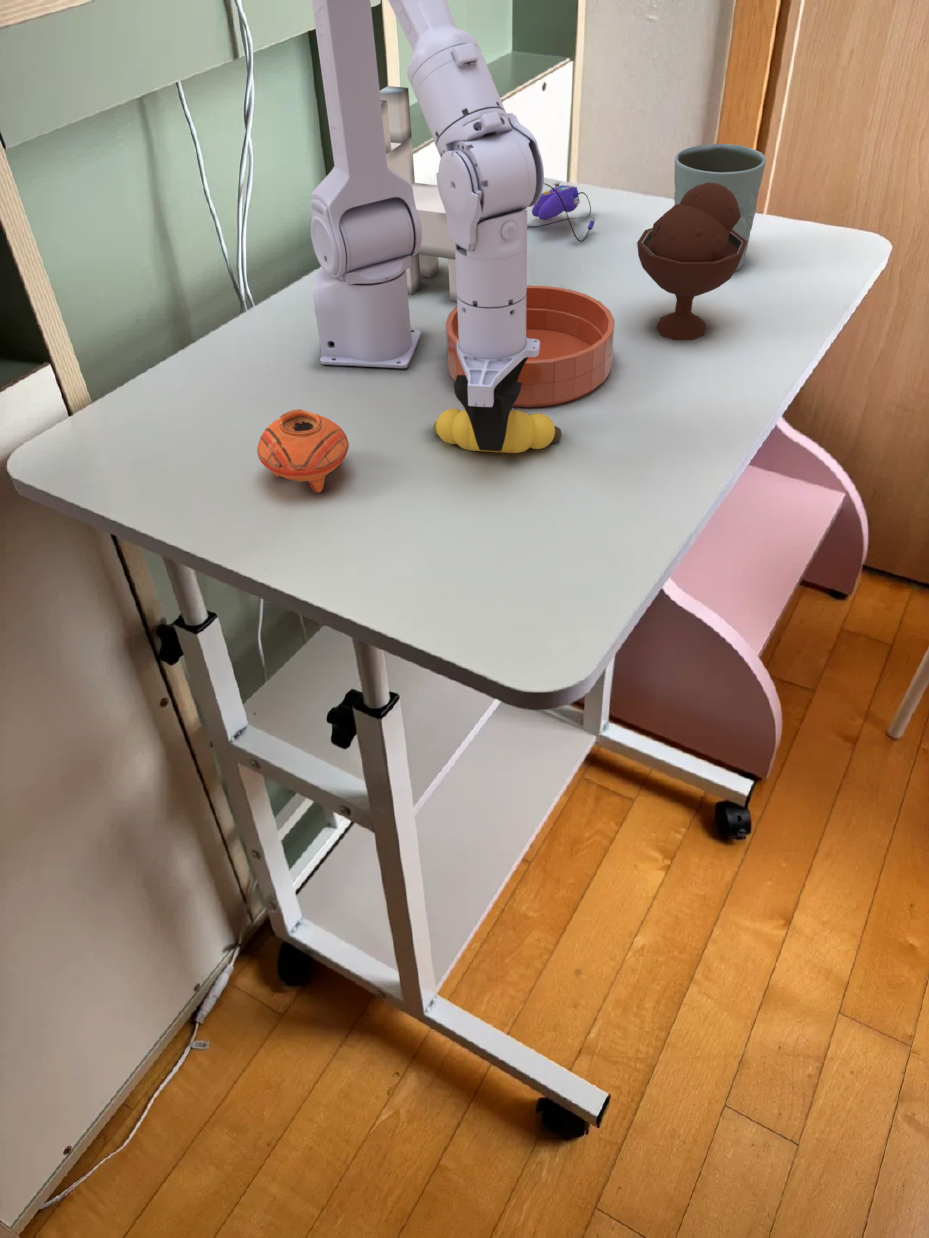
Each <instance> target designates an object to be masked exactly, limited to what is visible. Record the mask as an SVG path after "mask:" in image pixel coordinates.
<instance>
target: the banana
mask: <svg viewBox="0 0 929 1238" xmlns="http://www.w3.org/2000/svg"><path fill="white" fill-rule="evenodd" d="M432 431H433V432H434V433H435V435H437V436H438V437H439V438H440V439H441V440H442V441H443V442H445V443H446V444H451V445H458V446H459V447H460V448H462V449H464V450H466V451H472V452H473V451H474V452H488V453H489V452H490V453H491V452H492V453H503V454H504V453H506V454H520V453H523V452H526V451H527V450H529V449H533V450H540V449H544V448H546V447H548V446H549V445H550V444H552V443H557V442H559V441H560V440H561V439H562V430H561V428H560V427H558V426H557V425H555V424H554V422H553V420H552V419H551V418H550V417H549V416H548V415H545V414H543V413H537V412H536V413H532V414H528V413H527V412H524V411H522V410H514V409H512V410H511V411H510V413H509V417H508V424H507V430H506V436H505V440H504V444H503V447H502V450H501V451H487V450H479V448H478V445H477V442H476V439H475V436H474V432H473V428H472V425H471V422H470V419H469V416H468V414H467V412H466V410H465V409H462V410H461V409H459V408H449V409H446V410H444V411H443V412H441V413H440V414H439V416H438V418H437V420H436V421H435V422H434V423H433V425H432Z"/></svg>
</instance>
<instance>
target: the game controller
mask: <svg viewBox="0 0 929 1238" xmlns="http://www.w3.org/2000/svg"><path fill="white" fill-rule="evenodd" d="M561 183H562V182H561V181H556V182H554V183H552V185H553V186H554V187H552V185H549V184H547V183H545V182H544V184H543V185H544V186H547V187H549V188H551V189H549V190H546V191H542V194H541V196H540V199H539V200H538V202H537V203H536V204H535V205H533V206H532V207H531V208H532V209H531V214H532V216H533V217H535V218H538V219H539V220H542V221H548V220H550V219H553V218H556V217H558V216H559V215H561V214H562V213H563V212H565V214H566V217H567V218H564V219H561V220H557V221H553V222H550V223H545V224H542V225H541V224H540V225H535V226H534V225H533V226H532V225H527V228H540V227H541V228H542V227H546V226H549V225H552V224H557V223H560V222H563V221H567V220H568V223H569V225H570V228H571V231H572V233H573V235H574V237H575V239H576V240H577V241H578V242H583V241H584V240H585V239H586V238H587V236H588V235H589V233H590V231H592V230H593V228H594V226H595V221H596V218H595V217H592V218H591V220H590V222H589V224H588V226H587V229H588V230H587V233H586V234H585V237H584V238H583V239H581V240H580V239H579V238H578V237H577V235H576V233H575V231H574V228H573V226H572V223H571V220H575V219H576V217H571V218H569V217H570V216H569V214H568V213H571V212H573V211H574V210H576V209H577V208H578V206H579V205H580V203H581V202H580V196H579V195H580V194H583V195H584V196H585V197H586V199H587V201H588V205H589V213H588V214H587V215H586V216H580V217H579V219H584V218H587V217H589V216H590V215H591V212H592V206H591V202H590V200H589V197H588V195H587V194H586V193H585V192H584V191H580V192H579V190H578V186H574V185H572V184H571V185H569V184H568V185H560V184H561Z"/></svg>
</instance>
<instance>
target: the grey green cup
mask: <svg viewBox="0 0 929 1238" xmlns="http://www.w3.org/2000/svg"><path fill="white" fill-rule="evenodd" d="M766 163H767V158H766V156H765V154H764V153H763V152H761V151H759V150H757V149H754V148H751V147H749V146H745V145H739V144H731V143H708V144H700V145H695V146H691V147H688V148H684V149H682V150H681V151H679V152H678V153H676V155H675V157H674V180H673V181H674V195H673V197H674V198H673V200H674V201H673V202H674V205H676V204H680V202H681V200H682V198H683V196H684V195H685V194H686V193H687V191H689V190H691V189H692V188H694V187H696V186H697V185H701V184H704V183H707V182H709V183H717V184H720V185H722V186H725V187H726V188H728V189H729V190H730V191H731V192H732V193H733V194H734V196H735V198H736V200H737V202H738V207H739V210H740V215H741V218H740V219H739V221H738V222H737V224H736V225H735V226H734V227H733V230H734V231H735V232H736V233H738V234H739V235H740V236H741V237H742V238H744V239H745V240H746V241H747V244H746V247H745V250H744V253H743V255H742V258H741V260H740V262H739V265H738V267H737V269H736V271H735V272H734V273H736V272H737V271H739V270H740V269H741V268H743V266H744V264H745V262H746V261H745V260H746V256H747V252H748V247H749V241H750V238H751V237H750V236H751V232H752V228H753V225H754V220H755V215H756V211H757V210H756V207H757V199H758V197H759V193H760V191H759V190H760V188H761V185H762V181H763V176H764V173H765V172H764V171H765V167H766Z"/></svg>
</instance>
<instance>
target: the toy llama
mask: <svg viewBox="0 0 929 1238" xmlns="http://www.w3.org/2000/svg"><path fill="white" fill-rule="evenodd" d="M380 99H381V109H382V118H383V128H384V138H385V147H386V157H387V166H388V167H390V168H391V169H393V170H395V171H397V172H398V173H400V174H401V175H403V176H404V177H405V178H406V179H407V180H408V181H409V182H410V184H411V185H412V189H413V195H414V201H415V205H416V209H417V211H418V214H419V217H420V221H421V226H422V241H421V245H420V248H419V251H418V253H417V254H416V255H415V256H413V257H411V260H412V267H411V268H408V269H406V276H407V289H408V295H411V296H412V295H414V293H416V292H417V290H418V289H420V288H421V287H422V280H421V277H423V278H431V277H432V276H433V275H435V274H436V273H437V272H438V271H439V270H440V265H439V259H447V262H448V265H447V266H448V283H449V284H448V285H449V302H453V303H457V285H456V262H455V242H454V241H452V240H451V239H450V237H449V232H448V231H447V219H446V213H445V209H444V206H443V203H442V201H441V197H440V194H439V190H438V185H436V184H428V183H422V182H416V181H415V180H416V178H415V164H414V150H413V137H412V135H413V134H412V120H411V107H410V106H411V105H410V92H409V87H405V86H395V85H394V86H393V85H392V86H391V85H387V86H385V87H383V88H382V89H380Z"/></svg>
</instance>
